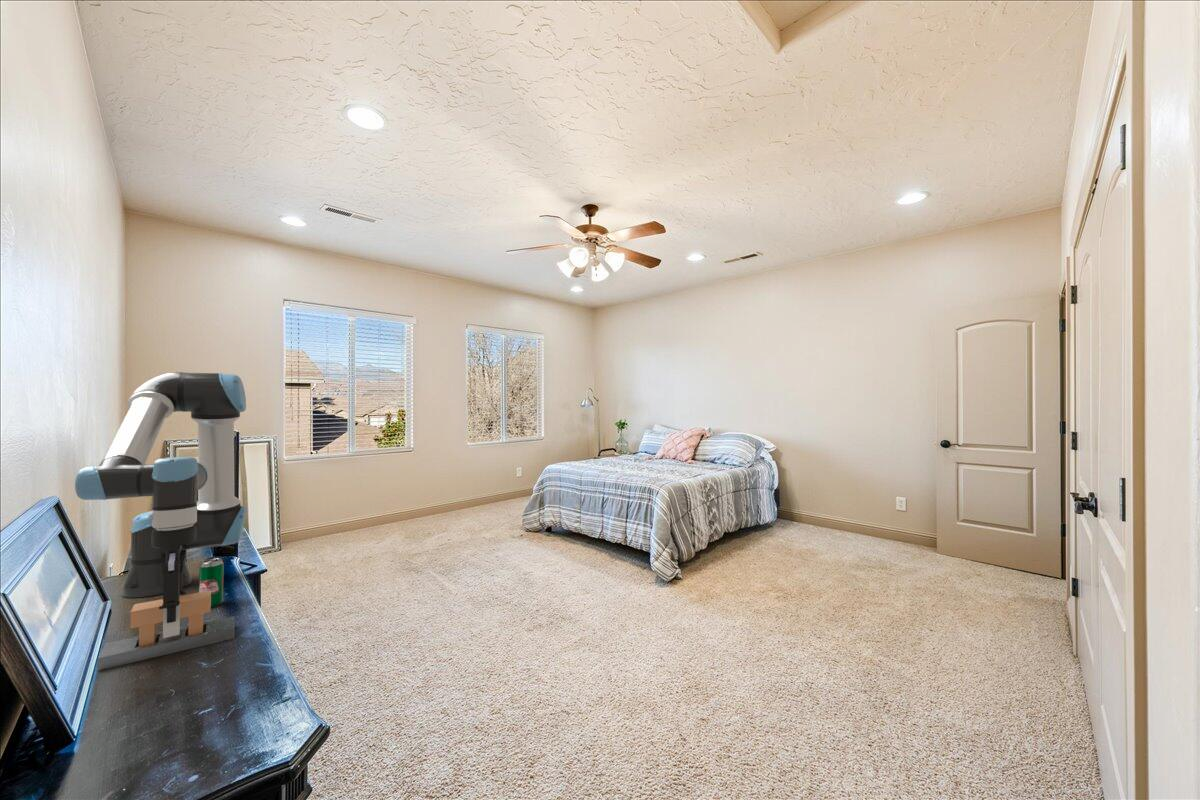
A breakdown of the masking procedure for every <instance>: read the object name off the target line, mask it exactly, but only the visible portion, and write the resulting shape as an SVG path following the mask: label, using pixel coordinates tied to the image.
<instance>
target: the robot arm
mask: <svg viewBox="0 0 1200 800" xmlns="http://www.w3.org/2000/svg"><path fill="white" fill-rule="evenodd" d="M246 402H247V399H246V392H245V386H244V383H243V381H242V379H241V377H240V376H238V375H236V374H231V373H223V372H182V371H179V372H177V371H176V372H167V373H164V374H161V375H159V376H155V377H154V378H152V379H149V380H147V381H146V382H144V383H143V384H141V385H140V386H139V387H137V388H136V389H135V390H134V391H133V392H132V393H131V395H130V396H129V399H128V401H127V405H126V407H127V409H128V411H127V413H126V415H125V417H124V418H123V420H122V422H121V423H120V426H119V428H118V430H117V432H116V434H115V435H114V437H113V439H112V441H111V443H110V445H109V447H108V449H107V450H106V452H105V454H104V456H103V458H102V460H101V461H100V462H99V465H97V466H96V465H92V466H86V467H83V468H81V469H79V470H78V473H77V474H76V476H75V481H74V490H75V494H76V496H77V497H78V498H79V499H80V500H83V501H84V500H85V501H99V500H100V501H101V500H103V501H106V500H115V499H126V498H127V499H128V498H141V497H152V507H151V509H152V510H150V511H146V512H143V513H140V514H138V515H136V516H134V517H133V519H132V524H131V525H132V526H131V531H130V534H131V537H130V538H131V539H130V545H131V546H130V568H129V570H128V573H127V575H126V577H125V579H124V581H123V584H122V586H121V596H122V597H125V598H135V599H136V598H145V597H152V596H153V597H154V596H158V595H163V596H162V599H163V604H162V606H159V609H163V622H162V631H163V638H167V637H171V636H176V635H180V627H182V626H183V618H180V601H179V596H183V595H187V589H186V590H183V589H184V588H185V587H187V586H189V585H190V584H191V583H192V574H191V570H190V568H189V566H188V563H187V561H186V557H187V550H196V549H203V548H204V549H205V548H213V547H224V546H228V545H234V544H237V543H239V542H240V540H241V538H242V536H243V533H244V528H245V523H246V516H247V509H248V508H247V506H246V505H241V499H240V498H238V497H237V496H235V422H236V421H237V420H239V418H241V413H243V412H245V411H246V410H247V403H246ZM174 412H175V413H176V412H183V413H184V412H185V413H186V412H187V413H188V412H190V416H191V417H190V419H191V420H193V421H194V422H195V423H197V431H198V432H197V436H198V437H197V439H198V440H197V444H198V446H197V448H198V450H197V451H198V452H197V454H198V459H197V458H196V457H193V456H174V457H173V456H172V457H163V458H158V459H156V460H155V461H154V462H153V463H150V464H149V463H148V464H146V463H147V460H148V458H149V456H150V454H151V451H152V449H153V447H154V444H155V443H156V440H157V437H158V436H159V434H160V431H161V428H162V427H163V424H164V422H165V419H167V418H169V417H170V416H171V415H172V414H173V413H174ZM197 498H198V500H197Z"/></svg>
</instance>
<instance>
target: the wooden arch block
mask: <svg viewBox="0 0 1200 800" xmlns="http://www.w3.org/2000/svg"><path fill="white" fill-rule="evenodd" d="M179 601H180V618H182V619H184V618H188V625H187V626H188V636H190V635H195V634H199V633H203V622H204V614H208V613H211V608H212V607H211V590H210V591H205V592H194V593H190V594H185V595H179ZM162 604H163V598H161V599H157V600H155V599H154V600H151V601H145V602H139V603H135V604H134V605H133V606H132V608H131V610H130V615H129V616H130V618H129V619H130V624H129V625H130V627H129V629H134V628H138V636H139V647H140V646H145V645H150V644H154V643H156V635H157V632H158V630H157V629H158V628H157V625H158V624H159V623H163V609H159V606H162Z"/></svg>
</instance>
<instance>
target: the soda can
mask: <svg viewBox="0 0 1200 800" xmlns="http://www.w3.org/2000/svg"><path fill="white" fill-rule="evenodd" d="M198 572H199V576H198V577H199V578H198V581H199V582H198V591H199V592H205V591H210V590H211V608H215V607H217V606H219V605H221V604H222V603H223V602H224V562H223V559H222V558H221V557H220V558H218V557H216V558H215V557H214V558H209V559H206V560H203V561H201V564H200V565H199V571H198ZM199 592H198V593H199Z"/></svg>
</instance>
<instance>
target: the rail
mask: <svg viewBox="0 0 1200 800" xmlns="http://www.w3.org/2000/svg"><path fill="white" fill-rule="evenodd" d="M235 631H236V617H235V615H233V616H228V617H223V618H218V619H214V620H213V619H212V620H209V621H203V633H199V634H195V635H190V636H188V625H186V626H185V625H184V626H180V635H176V636H171V637H167V638H163V630H162V631H161V630H160V631H157V635H156V643H154V644H150V645H145V646H140V647H139V635H138V636H133V637H128V638H125V639H124V638H123V639H118V640H115V641H110V642H106V643H105V644H104V646H103V648H102V650H101V651H100V653H99V655H98V657H97V668H96V669H97V672H99V671H102V670H107V669H111V668H115V667H119V666H123V665H128V664H132V663H136V662H140V661H141V662H142V661H144V660H149V659H153V658H157V657H162V656H165V655H171V654H174V653H179V652H183V651H187V650H192V649H197V648H200V647H204V646H209V645H212V644H217V643H221V642H225V640H226V641H230V640H233V639H235V638H236V637H235V635H236V633H235Z"/></svg>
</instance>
